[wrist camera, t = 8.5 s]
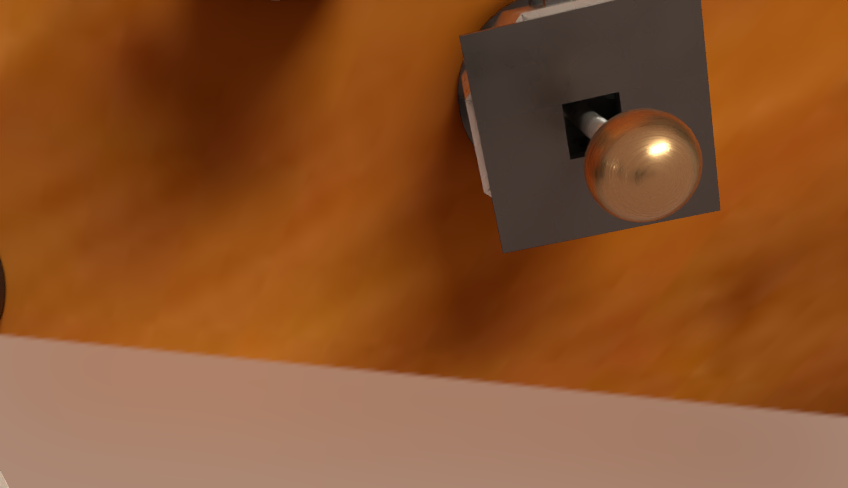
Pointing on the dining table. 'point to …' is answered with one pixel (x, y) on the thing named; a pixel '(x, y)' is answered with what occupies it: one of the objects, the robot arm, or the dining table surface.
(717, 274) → the dining table surface
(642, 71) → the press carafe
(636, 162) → the plunger
